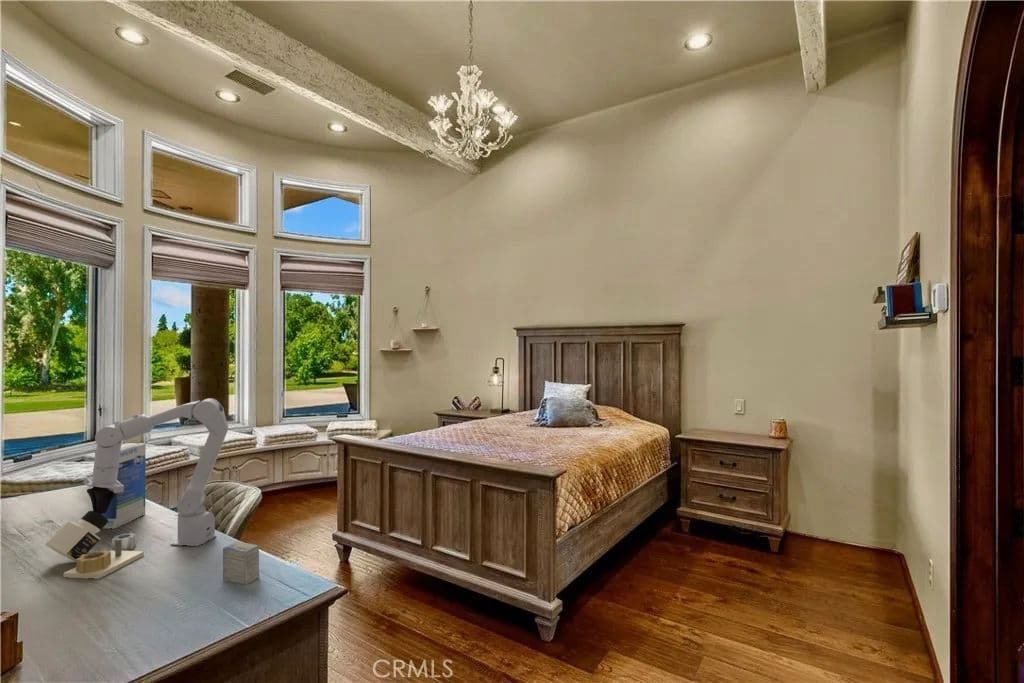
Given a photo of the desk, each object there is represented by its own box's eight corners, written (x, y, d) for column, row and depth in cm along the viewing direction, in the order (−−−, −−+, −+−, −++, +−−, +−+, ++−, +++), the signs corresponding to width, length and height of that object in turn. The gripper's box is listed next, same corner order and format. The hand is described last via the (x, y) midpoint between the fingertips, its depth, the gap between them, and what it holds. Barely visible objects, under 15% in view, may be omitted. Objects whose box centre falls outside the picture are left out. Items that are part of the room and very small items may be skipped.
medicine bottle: (65, 555, 131) (105, 515, 139) (43, 544, 131) (84, 504, 139) (78, 563, 136) (116, 524, 144) (57, 552, 137) (95, 514, 145)
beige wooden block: (259, 577, 127) (259, 544, 127) (245, 585, 123) (245, 551, 123) (237, 573, 130) (237, 540, 130) (222, 580, 125) (222, 547, 125)
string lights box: (126, 514, 174) (126, 442, 174) (147, 515, 173) (147, 443, 173) (93, 528, 160) (93, 451, 160) (115, 529, 160) (115, 451, 160)
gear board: (143, 555, 140) (144, 536, 140) (98, 578, 126) (99, 557, 126) (111, 554, 141) (112, 535, 141) (63, 577, 127) (63, 556, 127)
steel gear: (140, 545, 147) (140, 533, 147) (124, 552, 142) (124, 540, 142) (123, 544, 148) (123, 532, 148) (107, 552, 142) (107, 539, 142)
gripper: (75, 464, 141) (68, 511, 140) (106, 473, 136) (100, 521, 135) (102, 460, 147) (96, 505, 147) (133, 468, 142) (127, 515, 142)
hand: (100, 512), depth 142 cm, fingers closed, pressing on medicine bottle
